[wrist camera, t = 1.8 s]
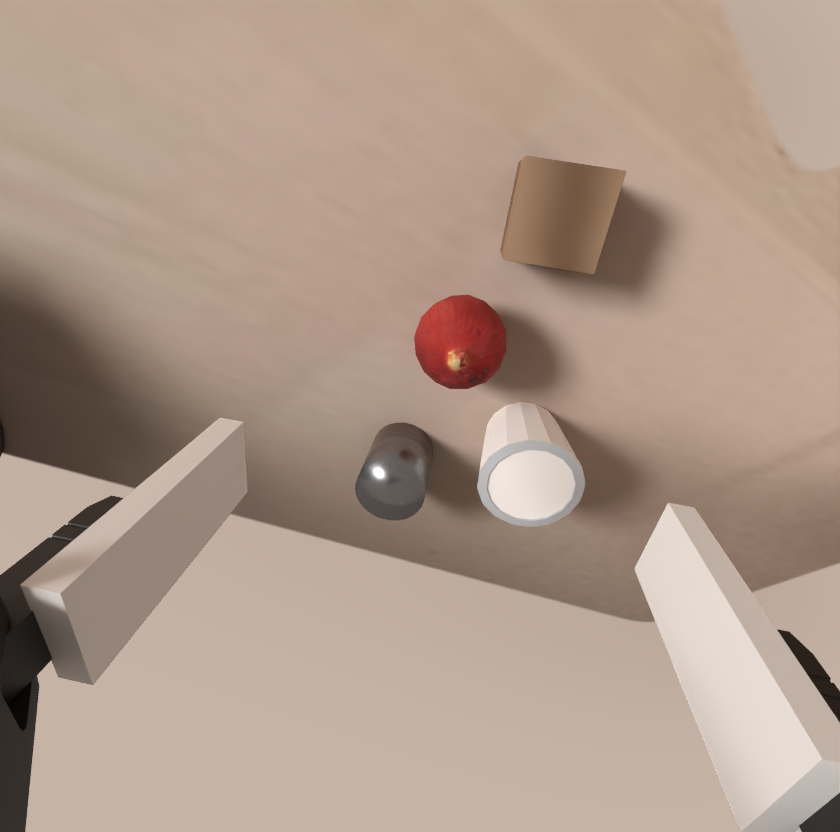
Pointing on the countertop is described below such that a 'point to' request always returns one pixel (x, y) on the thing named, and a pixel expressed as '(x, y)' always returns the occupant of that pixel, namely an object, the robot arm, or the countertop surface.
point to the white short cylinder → (528, 467)
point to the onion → (460, 342)
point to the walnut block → (560, 213)
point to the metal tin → (395, 472)
